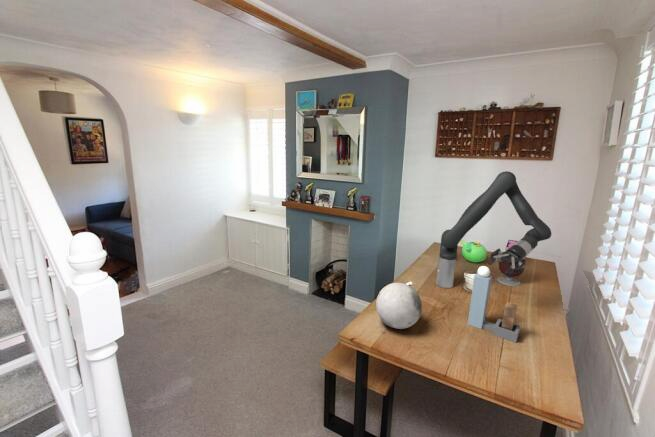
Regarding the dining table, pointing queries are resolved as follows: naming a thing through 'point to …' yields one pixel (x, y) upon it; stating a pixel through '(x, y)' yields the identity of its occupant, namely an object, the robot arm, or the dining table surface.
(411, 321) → the moon model
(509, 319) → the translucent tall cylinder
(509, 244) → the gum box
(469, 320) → the post
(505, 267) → the mate gourd
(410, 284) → the bull figurine
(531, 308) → the dining table surface
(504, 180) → the robot arm
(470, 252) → the green rounded lump
